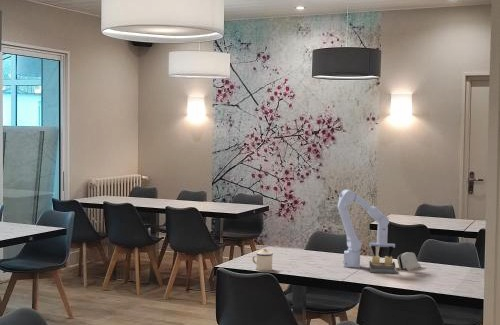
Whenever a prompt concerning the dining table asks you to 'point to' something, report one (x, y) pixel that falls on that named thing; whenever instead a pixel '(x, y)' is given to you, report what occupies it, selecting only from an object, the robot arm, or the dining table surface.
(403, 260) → the light grey rounded slab
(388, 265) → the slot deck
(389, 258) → the tan wooden cube
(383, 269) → the tray
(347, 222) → the robot arm
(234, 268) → the dining table surface
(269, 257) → the teacup with lid
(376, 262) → the wooden cube
